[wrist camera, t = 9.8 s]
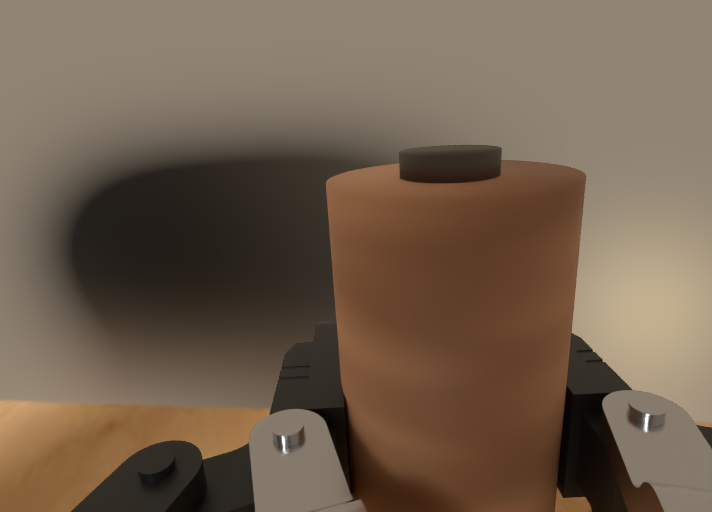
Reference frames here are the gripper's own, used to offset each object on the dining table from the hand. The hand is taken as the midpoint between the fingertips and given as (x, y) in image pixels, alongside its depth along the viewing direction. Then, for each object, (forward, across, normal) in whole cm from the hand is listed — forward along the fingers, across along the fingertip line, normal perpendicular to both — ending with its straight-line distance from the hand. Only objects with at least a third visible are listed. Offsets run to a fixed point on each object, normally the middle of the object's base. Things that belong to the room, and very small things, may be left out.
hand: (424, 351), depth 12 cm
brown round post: (-3, 0, +7) cm, 8 cm away
